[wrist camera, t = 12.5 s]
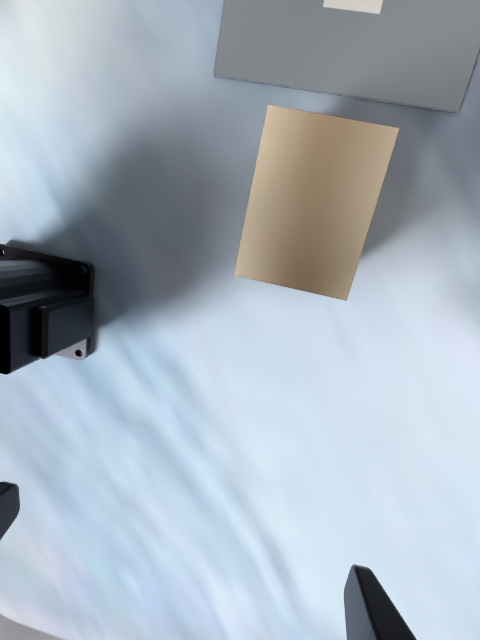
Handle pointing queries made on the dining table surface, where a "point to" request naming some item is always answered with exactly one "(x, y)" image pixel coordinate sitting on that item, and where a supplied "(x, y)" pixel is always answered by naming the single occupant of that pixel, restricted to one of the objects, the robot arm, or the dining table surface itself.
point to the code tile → (354, 48)
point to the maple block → (312, 200)
